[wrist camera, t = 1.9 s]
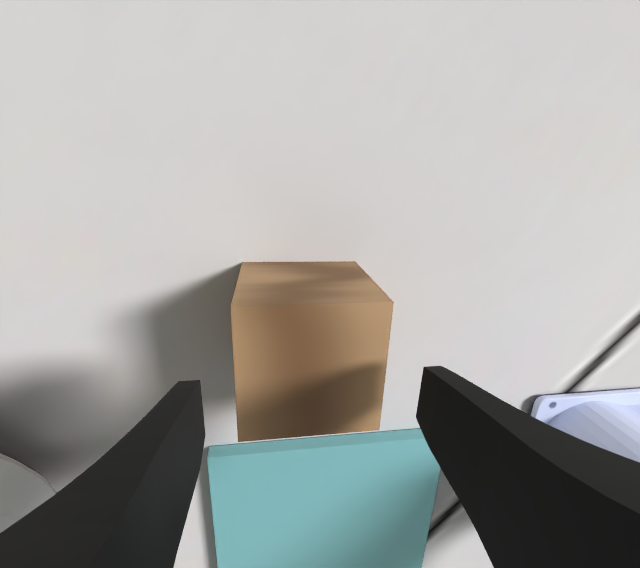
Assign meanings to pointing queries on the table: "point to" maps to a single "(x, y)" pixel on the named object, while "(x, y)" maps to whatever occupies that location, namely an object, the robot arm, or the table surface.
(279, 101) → the table surface
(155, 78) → the table surface
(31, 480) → the robot toy
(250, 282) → the walnut cube
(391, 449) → the teal board
